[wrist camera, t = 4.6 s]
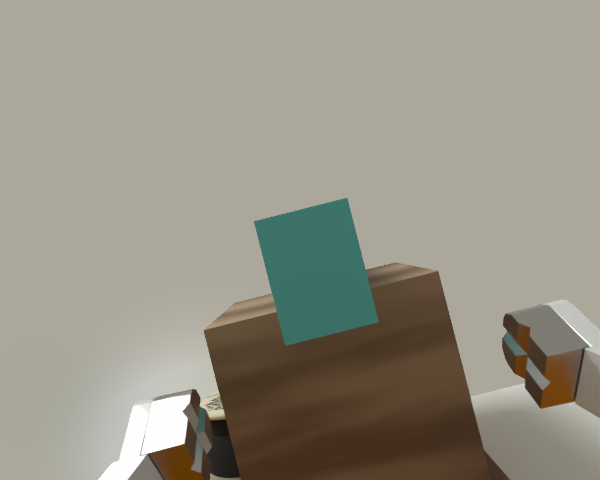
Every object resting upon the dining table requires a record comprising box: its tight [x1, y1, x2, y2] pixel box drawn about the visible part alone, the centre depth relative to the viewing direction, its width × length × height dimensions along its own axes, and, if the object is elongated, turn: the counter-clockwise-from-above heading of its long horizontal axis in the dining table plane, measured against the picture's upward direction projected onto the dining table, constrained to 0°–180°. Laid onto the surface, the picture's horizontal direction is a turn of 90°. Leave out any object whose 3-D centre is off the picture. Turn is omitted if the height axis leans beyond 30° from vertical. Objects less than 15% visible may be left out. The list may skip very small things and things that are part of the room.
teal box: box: [254, 198, 379, 346], centre depth 24 cm, size 20×3×4 cm, turn 0°
